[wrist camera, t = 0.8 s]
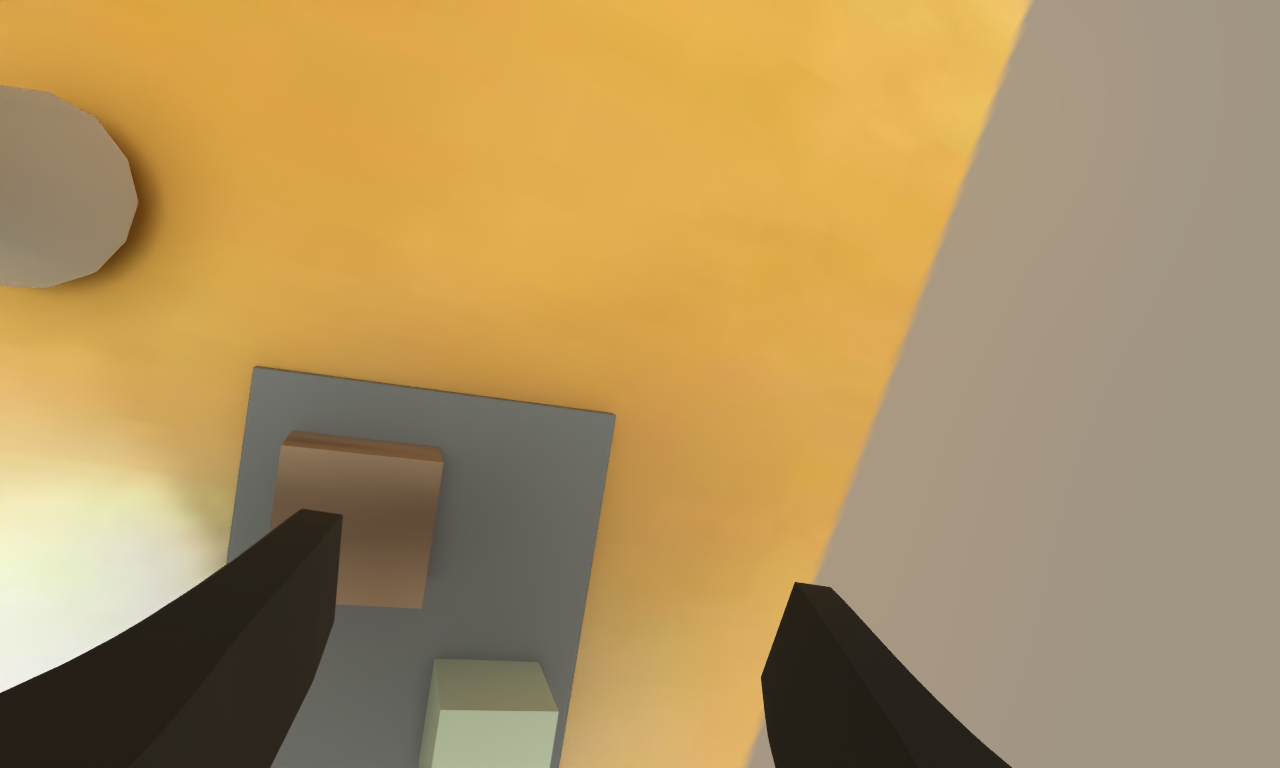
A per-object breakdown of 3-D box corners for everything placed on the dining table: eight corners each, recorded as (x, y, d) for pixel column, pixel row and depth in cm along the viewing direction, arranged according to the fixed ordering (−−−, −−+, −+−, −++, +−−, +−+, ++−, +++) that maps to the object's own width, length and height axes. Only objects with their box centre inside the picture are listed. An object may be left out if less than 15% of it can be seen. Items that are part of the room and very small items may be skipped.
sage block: (522, 759, 32) (540, 822, 28) (418, 760, 31) (422, 826, 27) (538, 661, 32) (558, 711, 28) (434, 658, 30) (440, 709, 27)
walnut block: (418, 579, 30) (421, 608, 27) (272, 570, 28) (259, 600, 26) (438, 446, 30) (443, 462, 27) (292, 430, 28) (281, 445, 25)
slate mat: (553, 775, 33) (556, 783, 32) (199, 779, 29) (195, 788, 28) (611, 413, 32) (615, 415, 32) (256, 366, 28) (253, 367, 28)
